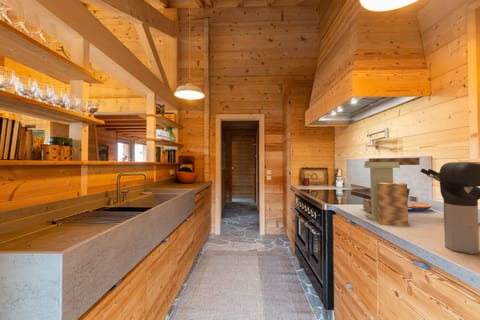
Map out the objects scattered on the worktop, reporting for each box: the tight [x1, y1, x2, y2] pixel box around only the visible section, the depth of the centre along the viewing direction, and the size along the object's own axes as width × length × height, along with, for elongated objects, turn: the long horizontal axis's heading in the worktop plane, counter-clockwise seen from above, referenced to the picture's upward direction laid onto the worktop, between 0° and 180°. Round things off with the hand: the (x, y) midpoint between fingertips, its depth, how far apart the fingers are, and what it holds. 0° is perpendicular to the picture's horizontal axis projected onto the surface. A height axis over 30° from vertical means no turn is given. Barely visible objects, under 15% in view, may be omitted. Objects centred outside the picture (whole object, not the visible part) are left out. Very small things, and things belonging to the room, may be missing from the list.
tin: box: [362, 198, 371, 214], centre depth 147 cm, size 15×3×8 cm, turn 168°
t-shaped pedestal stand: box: [364, 160, 401, 222], centre depth 128 cm, size 16×10×34 cm, turn 69°
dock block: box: [376, 182, 410, 228], centre depth 118 cm, size 13×9×22 cm, turn 69°
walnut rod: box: [368, 157, 421, 166], centre depth 126 cm, size 24×4×4 cm, turn 69°
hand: (424, 170), depth 121 cm, fingers open, 8 cm apart
